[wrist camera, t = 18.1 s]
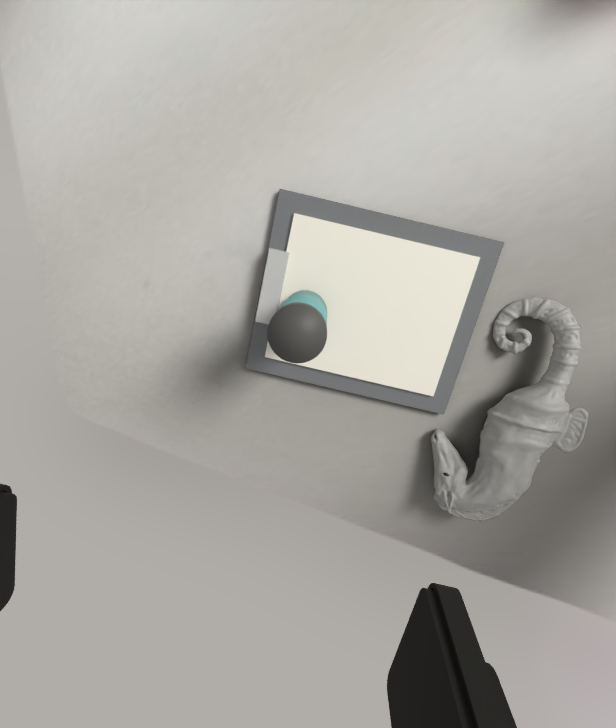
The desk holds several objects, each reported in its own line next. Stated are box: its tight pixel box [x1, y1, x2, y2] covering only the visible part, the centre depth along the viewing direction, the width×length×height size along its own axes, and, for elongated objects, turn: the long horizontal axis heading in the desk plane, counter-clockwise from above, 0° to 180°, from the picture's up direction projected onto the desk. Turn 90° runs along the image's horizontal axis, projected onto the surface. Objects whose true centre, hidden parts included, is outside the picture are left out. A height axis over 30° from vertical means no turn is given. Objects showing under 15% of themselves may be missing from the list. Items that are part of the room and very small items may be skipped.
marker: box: [267, 290, 327, 363], centre depth 31 cm, size 4×4×10 cm
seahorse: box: [431, 297, 589, 521], centre depth 36 cm, size 5×12×20 cm
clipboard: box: [245, 189, 504, 414], centre depth 35 cm, size 18×15×2 cm
